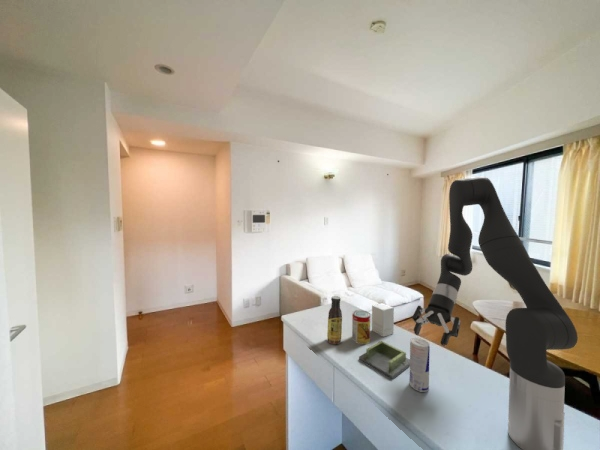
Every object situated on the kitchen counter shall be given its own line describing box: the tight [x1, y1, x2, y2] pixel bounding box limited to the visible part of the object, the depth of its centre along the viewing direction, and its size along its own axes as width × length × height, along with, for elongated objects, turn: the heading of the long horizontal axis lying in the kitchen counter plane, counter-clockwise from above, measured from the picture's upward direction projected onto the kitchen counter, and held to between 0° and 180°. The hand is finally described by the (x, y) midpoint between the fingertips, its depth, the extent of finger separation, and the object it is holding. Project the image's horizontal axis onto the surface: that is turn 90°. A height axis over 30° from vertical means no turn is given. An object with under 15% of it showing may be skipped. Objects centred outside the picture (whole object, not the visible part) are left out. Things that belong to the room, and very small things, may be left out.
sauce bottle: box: [326, 295, 343, 345], centre depth 102 cm, size 6×6×20 cm
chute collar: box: [358, 340, 410, 380], centre depth 87 cm, size 14×14×4 cm
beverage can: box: [409, 337, 431, 393], centre depth 74 cm, size 6×6×15 cm
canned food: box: [351, 309, 371, 345], centre depth 104 cm, size 8×8×12 cm
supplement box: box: [371, 302, 395, 338], centre depth 111 cm, size 7×7×13 cm
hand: (428, 339), depth 78 cm, fingers open, 8 cm apart
